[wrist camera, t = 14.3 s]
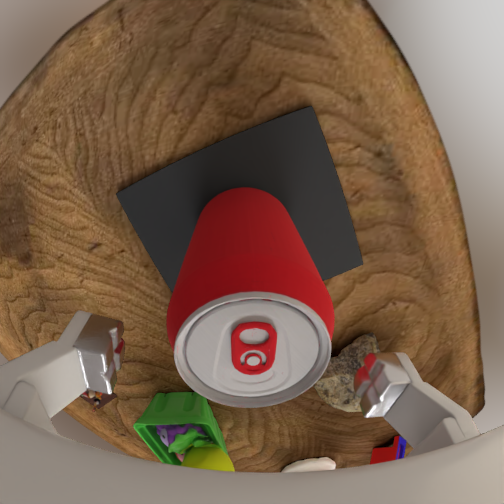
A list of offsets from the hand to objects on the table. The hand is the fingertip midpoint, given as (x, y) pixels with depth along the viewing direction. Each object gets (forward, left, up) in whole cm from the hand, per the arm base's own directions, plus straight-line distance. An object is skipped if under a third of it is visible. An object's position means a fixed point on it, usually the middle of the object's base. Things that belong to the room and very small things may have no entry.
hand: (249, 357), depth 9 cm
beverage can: (0, 0, -12) cm, 12 cm away
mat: (0, 0, -12) cm, 12 cm away
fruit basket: (-1, -22, -13) cm, 26 cm away
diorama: (-13, -22, -13) cm, 29 cm away
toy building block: (+28, -30, -13) cm, 43 cm away
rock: (+13, -11, -13) cm, 21 cm away
